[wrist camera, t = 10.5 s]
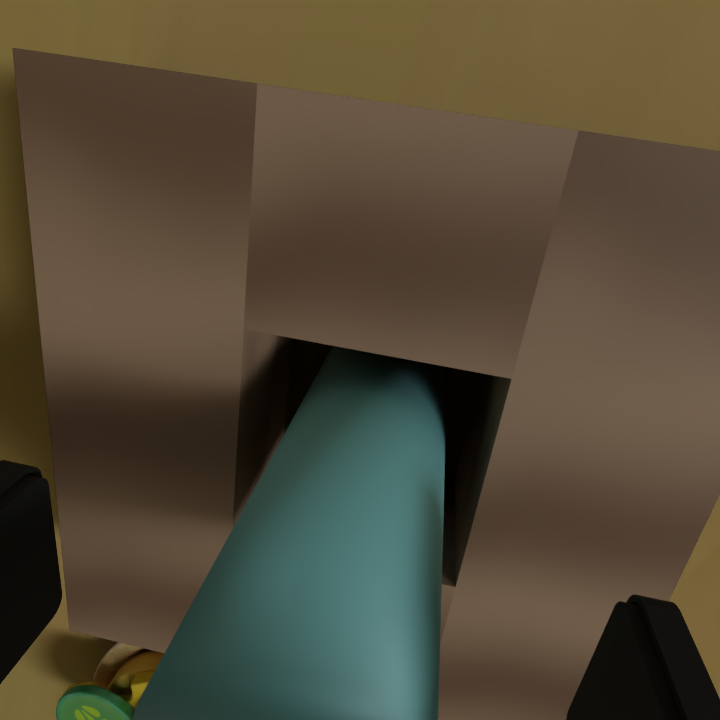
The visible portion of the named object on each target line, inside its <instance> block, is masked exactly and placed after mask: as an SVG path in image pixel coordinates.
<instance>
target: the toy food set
mask: <svg viewBox="0 0 720 720" xmlns="http://www.w3.org/2000/svg"><path fill="white" fill-rule="evenodd" d="M163 655H164V653H161V652H157V651H153V650H149V649H145V648H140V647H136V646H132V645H128V644H124V643H120V642H117V643H116V644H115V645H114V646H113V647H112V648H111V649H110V650H109V651H108V652H107V653H106V654H105V656H104V657H103V658H102V660H101V661H100V663H99V665H98V667H97V669H96V672H95V674H94V679H93V682H92V681H90V682H83V683H79V684H75V685H72V686H70V687H68V688H67V690H66V691H65V692H64V694H63V696H62V697H61V698H60V700H59V701H58V704H57V709H56V716H57V720H133V716H134V712H135V708H136V705H137V703H138V701H139V699H140V697H141V695H142V693H143V692H144V690H145V688H146V686H147V684H148V683H149V681H150V679H151V677H152V675H153V673H154V672H155V670H156V668H157V666H158V664H159V662H160V661H161V659H162V657H163Z"/></svg>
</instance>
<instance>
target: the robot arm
mask: <svg viewBox="0 0 720 720" xmlns="http://www.w3.org/2000/svg"><path fill="white" fill-rule="evenodd" d="M61 598H62V589H61V580H60V572H59V564H58V556H57V548H56V540H55V532H54V524H53V515H52V507H51V499H50V491H49V484H48V481H47V480H46V479H45V478H42V475H41V471H40V470H39V469H38V468H36V467H33V466H29V465H24V464H19V463H14V462H10V461H5V460H2V461H0V684H1V683H2V681H3V680H4V679H5V677H6V676H7V675H8V674H9V672H10V671H11V670H12V669H13V667H14V666H15V665H16V664H17V662H18V661H19V660H20V659H21V657H22V656H23V655H24V653H25V652H26V651H27V650H28V648H29V647H30V646H31V645H32V643H33V642H34V641H35V640H36V638H37V637H38V636H39V634H40V633H41V632H42V631H43V629H44V628H45V627H46V626H47V624H48V623H49V622H50V621H51V619H52V618H53V617H54V615H55V614H56V612H57V610H58V608H59V605H60V603H61ZM566 720H720V699H719V696H718V694H717V692H716V690H715V688H714V685H713V683H712V681H711V679H710V676H709V674H708V672H707V670H706V667H705V665H704V663H703V661H702V658H701V656H700V654H699V652H698V650H697V647H696V645H695V643H694V641H693V638H692V636H691V634H690V632H689V629H688V627H687V625H686V623H685V620H684V618H683V616H682V614H681V612H680V610H679V608H678V607H677V605H675V604H674V603H673V602H669V601H664V600H659V599H655V598H650V597H645V596H641V595H634V594H633V595H632V596H630V597H629V598H628V600H627V602H621V601H619V602H617V603H616V605H615V606H614V609H613V611H612V613H611V615H610V617H609V620H608V622H607V624H606V626H605V629H604V631H603V633H602V635H601V638H600V640H599V642H598V644H597V647H596V649H595V651H594V653H593V656H592V658H591V660H590V662H589V665H588V667H587V669H586V671H585V674H584V676H583V678H582V680H581V683H580V685H579V687H578V689H577V692H576V694H575V696H574V698H573V701H572V703H571V705H570V707H569V710H568V713H567V718H566Z"/></svg>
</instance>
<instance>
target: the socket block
mask: <svg viewBox="0 0 720 720" xmlns="http://www.w3.org/2000/svg"><path fill="white" fill-rule="evenodd" d="M12 49H13V59H14V69H15V79H16V90H17V100H18V110H19V120H20V130H21V141H22V151H23V161H24V171H25V181H26V192H27V202H28V212H29V222H30V232H31V243H32V253H33V263H34V273H35V283H36V294H37V304H38V314H39V324H40V334H41V345H42V355H43V365H44V375H45V385H46V396H47V406H48V416H49V426H50V436H51V447H52V457H53V467H54V477H55V487H56V497H57V508H58V518H59V528H60V538H61V548H62V559H63V569H64V579H65V589H66V599H67V610H68V620H69V630H70V631H74V632H78V633H82V634H86V635H90V636H95V637H99V638H103V639H107V640H111V641H115V642H120V643H124V644H128V645H132V646H136V647H140V648H145V649H149V650H153V651H157V652H161V653H165V651H166V650H167V648H168V646H169V644H170V642H171V640H172V639H173V637H174V635H175V633H176V631H177V629H178V628H179V626H180V624H181V622H182V620H183V618H184V617H185V615H186V613H187V611H188V609H189V608H190V606H191V604H192V602H193V600H194V598H195V597H196V595H197V593H198V591H199V589H200V587H201V586H202V584H203V582H204V580H205V578H206V576H207V575H208V573H209V571H210V569H211V567H212V565H213V564H214V562H215V560H216V558H217V556H218V554H219V553H220V551H221V549H222V547H223V545H224V543H225V542H226V540H227V538H228V536H229V534H230V533H231V531H232V529H233V527H234V525H235V523H236V522H237V520H238V518H239V516H240V514H241V512H242V511H243V509H244V507H245V505H246V503H247V501H248V500H249V498H250V496H251V494H252V492H253V490H254V489H255V487H256V485H257V483H258V481H259V479H260V478H261V476H262V474H263V472H264V470H265V469H266V467H267V465H268V463H269V461H270V459H271V458H272V456H273V454H274V452H275V450H276V448H277V447H278V445H279V443H280V441H281V439H282V437H283V436H284V430H285V419H286V409H287V398H288V388H289V377H290V366H291V356H292V345H293V338H294V339H299V340H305V341H310V342H316V343H321V344H326V345H332V346H337V347H343V348H348V349H353V350H359V351H364V352H369V353H375V354H380V355H386V356H391V357H396V358H402V359H407V360H413V361H418V362H423V363H429V364H434V365H440V366H445V367H450V368H456V369H461V370H467V371H472V372H477V373H480V377H479V382H478V386H477V390H476V394H475V398H474V402H473V406H472V410H471V414H470V418H469V423H468V427H467V431H466V435H465V439H464V443H463V447H462V451H461V455H460V459H459V464H458V468H457V472H456V476H455V477H453V476H448V475H445V477H444V516H443V554H442V592H441V630H440V668H439V707H438V719H441V720H566V718H567V713H568V710H569V707H570V705H571V703H572V701H573V698H574V696H575V694H576V692H577V689H578V687H579V685H580V683H581V680H582V678H583V676H584V674H585V671H586V669H587V667H588V665H589V662H590V660H591V658H592V656H593V653H594V651H595V649H596V647H597V644H598V642H599V640H600V638H601V635H602V633H603V631H604V629H605V626H606V624H607V622H608V620H609V617H610V615H611V613H612V611H613V609H614V606H615V605H616V603H617V602H619V601H621V602H627V600H628V598H629V597H630V596H632V595H633V594H634V595H641V596H645V597H650V598H655V599H659V600H664V601H669V599H670V597H671V595H672V593H673V591H674V589H675V587H676V585H677V582H678V580H679V578H680V576H681V574H682V572H683V570H684V568H685V566H686V564H687V562H688V559H689V557H690V555H691V553H692V551H693V549H694V547H695V545H696V543H697V541H698V538H699V536H700V534H701V532H702V530H703V528H704V526H705V524H706V522H707V520H708V517H709V515H710V513H711V511H712V509H713V507H714V505H715V503H716V501H717V499H718V496H719V494H720V151H715V150H708V149H701V148H694V147H687V146H680V145H674V144H667V143H660V142H653V141H646V140H639V139H633V138H626V137H619V136H612V135H605V134H598V133H592V132H585V131H578V130H571V129H564V128H557V127H551V126H544V125H537V124H530V123H523V122H516V121H510V120H503V119H496V118H489V117H482V116H475V115H469V114H462V113H455V112H448V111H441V110H434V109H428V108H421V107H414V106H407V105H400V104H393V103H387V102H380V101H373V100H366V99H359V98H352V97H345V96H339V95H332V94H325V93H318V92H311V91H304V90H298V89H291V88H284V87H277V86H270V85H263V84H257V83H250V82H243V81H236V80H229V79H222V78H216V77H209V76H202V75H195V74H188V73H181V72H175V71H168V70H161V69H154V68H147V67H140V66H134V65H127V64H120V63H113V62H106V61H99V60H93V59H86V58H79V57H72V56H65V55H58V54H51V53H45V52H38V51H31V50H24V49H17V48H12Z"/></svg>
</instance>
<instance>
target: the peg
mask: <svg viewBox="0 0 720 720" xmlns="http://www.w3.org/2000/svg"><path fill="white" fill-rule="evenodd" d="M446 401H447V376H446V370H445V366H440V365H434V364H429V363H423V362H418V361H413V360H407V359H402V358H396V357H391V356H386V355H380V354H375V353H369V352H364V351H359V350H353V349H348V348H343V347H337V346H333V347H332V348H331V350H330V351H329V353H328V355H327V357H326V359H325V361H324V362H323V364H322V366H321V368H320V370H319V372H318V373H317V375H316V377H315V379H314V381H313V383H312V384H311V386H310V388H309V390H308V392H307V394H306V395H305V397H304V399H303V401H302V403H301V404H300V406H299V408H298V410H297V412H296V414H295V415H294V417H293V419H292V421H291V423H290V425H289V426H288V428H287V430H286V432H285V434H284V436H283V437H282V439H281V441H280V443H279V445H278V447H277V448H276V450H275V452H274V454H273V456H272V458H271V459H270V461H269V463H268V465H267V467H266V469H265V470H264V472H263V474H262V476H261V478H260V479H259V481H258V483H257V485H256V487H255V489H254V490H253V492H252V494H251V496H250V498H249V500H248V501H247V503H246V505H245V507H244V509H243V511H242V512H241V514H240V516H239V518H238V520H237V522H236V523H235V525H234V527H233V529H232V531H231V533H230V534H229V536H228V538H227V540H226V542H225V543H224V545H223V547H222V549H221V551H220V553H219V554H218V556H217V558H216V560H215V562H214V564H213V565H212V567H211V569H210V571H209V573H208V575H207V576H206V578H205V580H204V582H203V584H202V586H201V587H200V589H199V591H198V593H197V595H196V597H195V598H194V600H193V602H192V604H191V606H190V608H189V609H188V611H187V613H186V615H185V617H184V618H183V620H182V622H181V624H180V626H179V628H178V629H177V631H176V633H175V635H174V637H173V639H172V640H171V642H170V644H169V646H168V648H167V650H166V651H165V653H164V655H163V657H162V659H161V661H160V662H159V664H158V666H157V668H156V670H155V672H154V673H153V675H152V677H151V679H150V681H149V683H148V684H147V686H146V688H145V690H144V692H143V693H142V695H141V697H140V699H139V701H138V703H137V705H136V708H135V712H134V716H133V720H438V707H439V668H440V630H441V592H442V554H443V516H444V477H445V439H446Z"/></svg>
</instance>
